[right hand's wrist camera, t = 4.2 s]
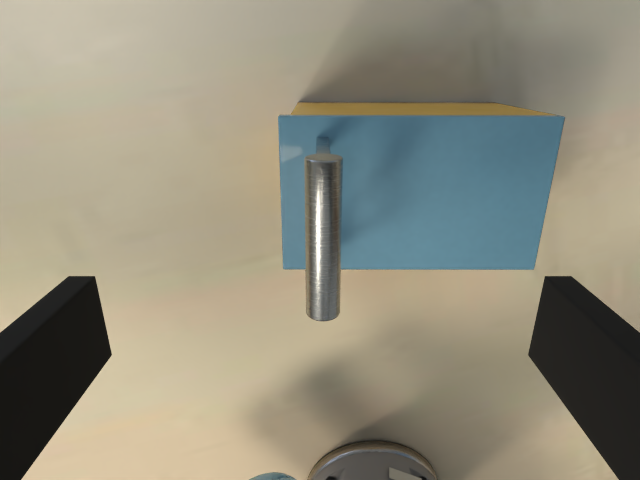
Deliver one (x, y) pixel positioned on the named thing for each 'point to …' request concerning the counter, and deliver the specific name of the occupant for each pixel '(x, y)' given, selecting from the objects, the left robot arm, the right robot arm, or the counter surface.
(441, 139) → the lid
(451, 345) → the counter surface
